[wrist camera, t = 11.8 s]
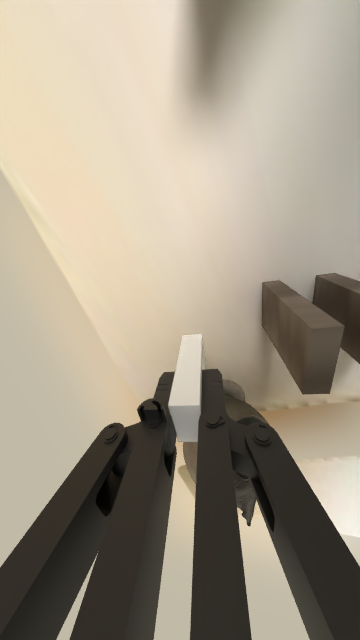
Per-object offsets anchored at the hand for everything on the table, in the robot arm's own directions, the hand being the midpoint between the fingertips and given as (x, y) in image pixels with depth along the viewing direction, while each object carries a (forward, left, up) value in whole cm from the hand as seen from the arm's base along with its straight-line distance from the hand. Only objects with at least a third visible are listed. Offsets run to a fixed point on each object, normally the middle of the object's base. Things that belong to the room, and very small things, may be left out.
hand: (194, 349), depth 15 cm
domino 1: (0, +8, -8) cm, 11 cm away
